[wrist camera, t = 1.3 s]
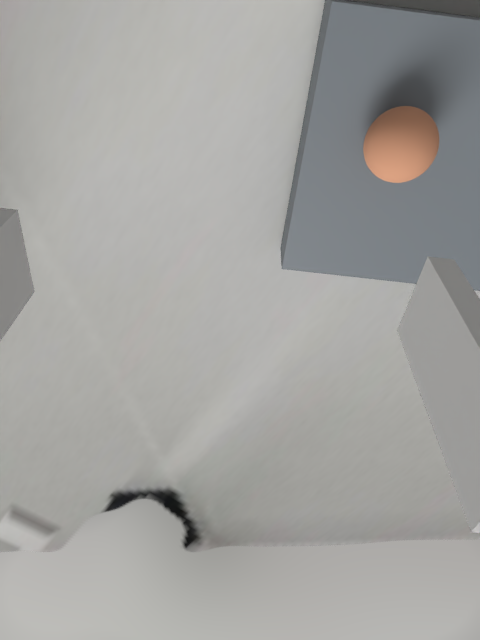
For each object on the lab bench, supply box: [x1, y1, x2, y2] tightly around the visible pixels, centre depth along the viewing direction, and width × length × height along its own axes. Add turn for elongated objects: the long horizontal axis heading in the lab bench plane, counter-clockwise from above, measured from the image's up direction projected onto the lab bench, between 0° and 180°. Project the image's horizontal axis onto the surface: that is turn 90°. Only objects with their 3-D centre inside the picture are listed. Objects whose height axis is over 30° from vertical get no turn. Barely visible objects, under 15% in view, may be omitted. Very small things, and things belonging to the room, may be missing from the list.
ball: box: [363, 106, 439, 183], centre depth 26 cm, size 4×4×4 cm
